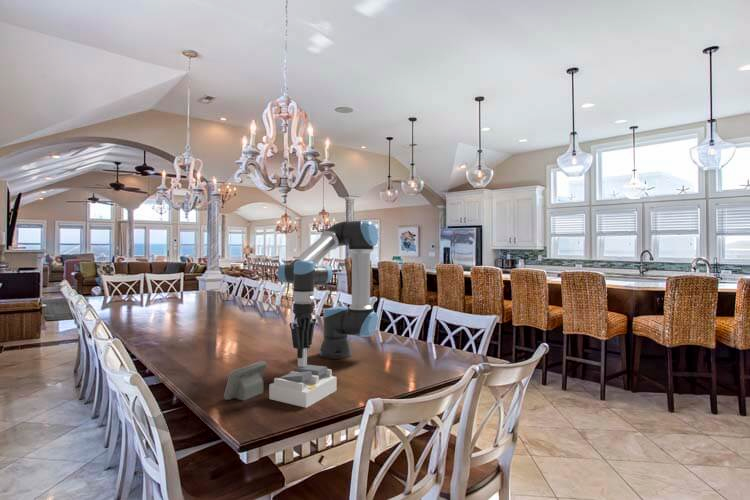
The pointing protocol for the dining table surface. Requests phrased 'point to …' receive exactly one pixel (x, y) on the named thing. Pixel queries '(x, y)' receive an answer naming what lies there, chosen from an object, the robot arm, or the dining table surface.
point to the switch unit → (303, 389)
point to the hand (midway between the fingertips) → (302, 365)
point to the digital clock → (245, 382)
